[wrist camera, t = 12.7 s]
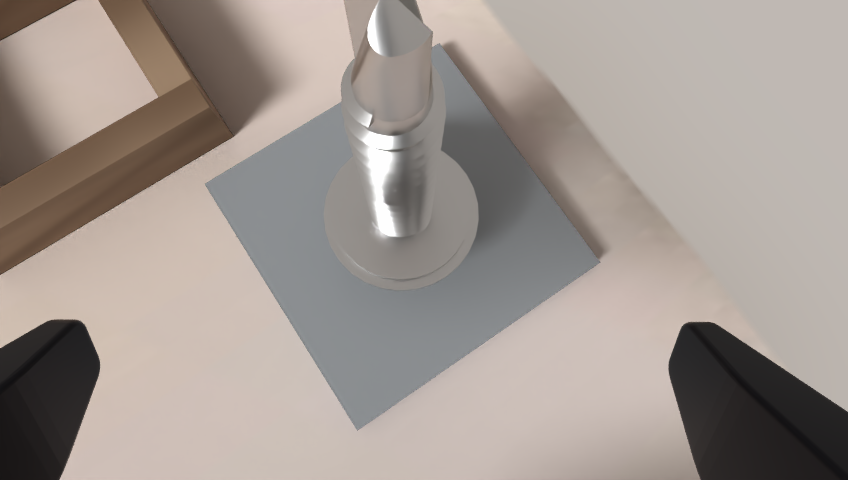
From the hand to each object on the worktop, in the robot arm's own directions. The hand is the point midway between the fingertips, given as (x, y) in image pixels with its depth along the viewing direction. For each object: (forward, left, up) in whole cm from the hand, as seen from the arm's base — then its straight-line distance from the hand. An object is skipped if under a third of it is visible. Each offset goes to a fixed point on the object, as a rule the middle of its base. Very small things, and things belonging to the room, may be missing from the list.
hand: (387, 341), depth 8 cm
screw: (+3, -2, -10) cm, 11 cm away
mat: (+4, -2, -11) cm, 12 cm away
